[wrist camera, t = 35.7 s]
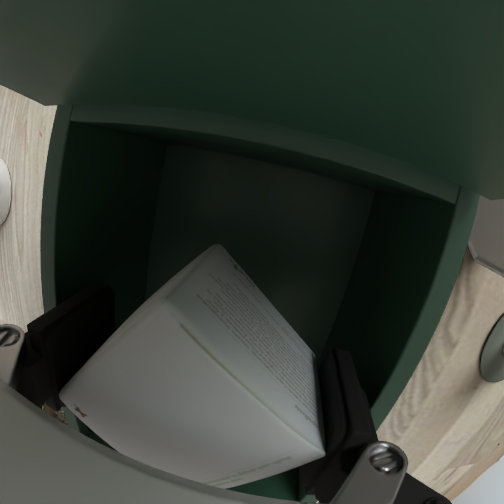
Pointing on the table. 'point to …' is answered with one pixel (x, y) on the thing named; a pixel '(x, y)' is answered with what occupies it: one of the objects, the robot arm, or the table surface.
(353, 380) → the robot arm
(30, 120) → the table surface
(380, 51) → the bin lid
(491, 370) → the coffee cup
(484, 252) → the gravestone
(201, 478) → the small box
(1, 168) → the mug
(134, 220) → the bin
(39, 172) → the table surface
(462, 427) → the table surface
